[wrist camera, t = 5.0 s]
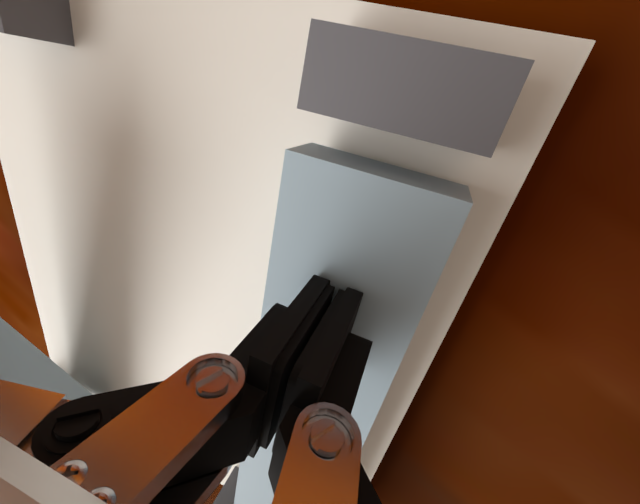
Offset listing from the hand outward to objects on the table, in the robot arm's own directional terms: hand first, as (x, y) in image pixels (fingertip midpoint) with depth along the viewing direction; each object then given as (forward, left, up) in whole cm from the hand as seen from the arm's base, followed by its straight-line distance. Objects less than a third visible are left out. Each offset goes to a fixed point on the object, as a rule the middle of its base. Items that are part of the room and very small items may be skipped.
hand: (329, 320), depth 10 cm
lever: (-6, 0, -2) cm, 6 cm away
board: (-5, +8, -6) cm, 11 cm away
